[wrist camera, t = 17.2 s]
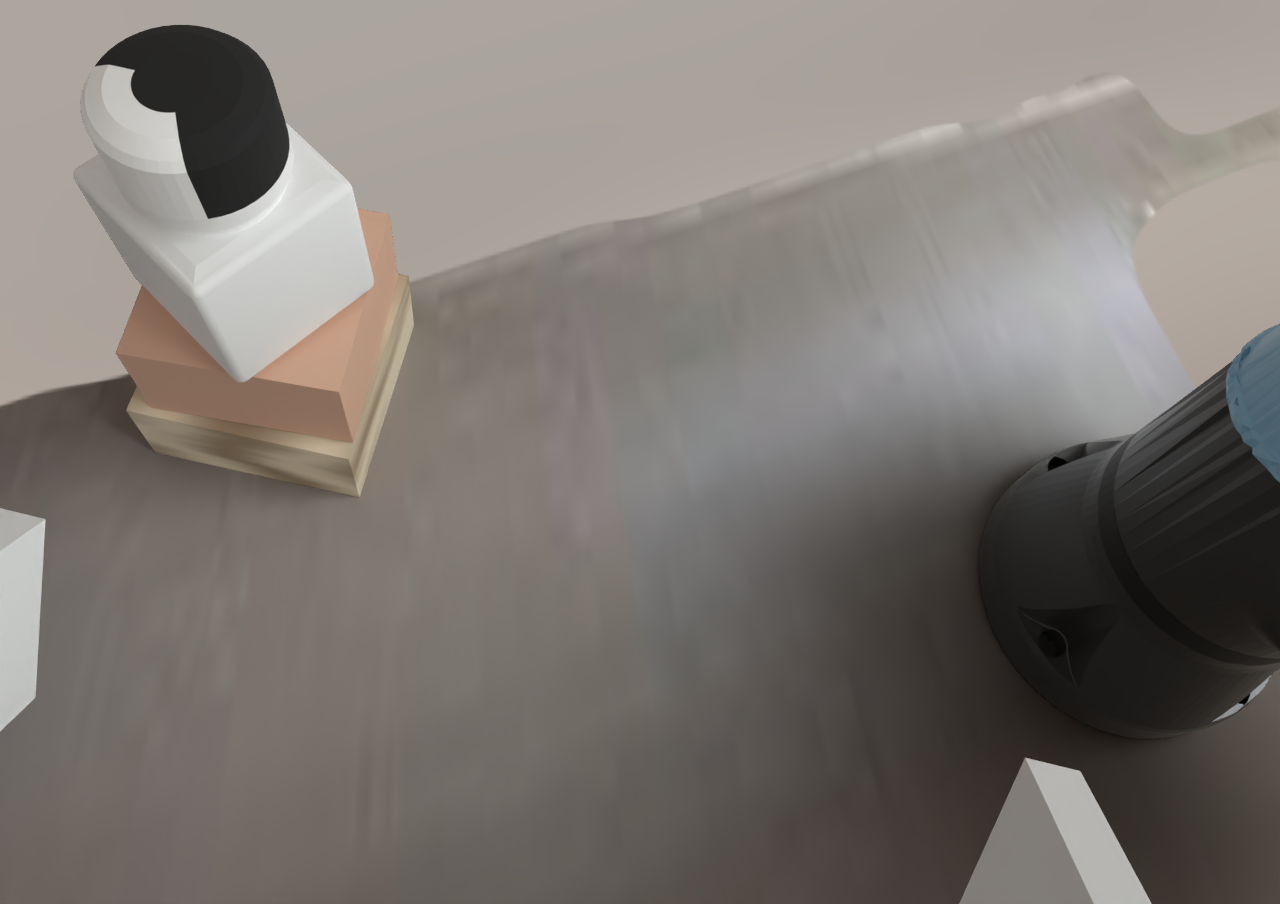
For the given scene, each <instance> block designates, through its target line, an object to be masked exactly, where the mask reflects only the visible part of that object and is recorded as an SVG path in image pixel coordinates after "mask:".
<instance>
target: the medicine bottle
mask: <svg viewBox="0 0 1280 904" xmlns="http://www.w3.org/2000/svg"><path fill="white" fill-rule="evenodd" d="M81 115H82V120H83V123H84V126H85V128H86V131H87V133H88V134H89V136H90V138H91V140H92V141H93V143H94V145H95V147H96V149H97V151H98V152H99V155H97V156H96V157H94V158H92V159H91V160H89V161H87V162H86V163H84V164H83V165H81V166H79V167H78V168H77V169H76V170H75V171H74V178H75V181H76V183H77V184H78V186H79V188H80V189H81V191H82V193H83V194H84V196H85V197H86V199H87V201H88V202H89V204H90V206H91V207H92V209H93V210H94V212H95V214H96V215H97V217H98V219H99V220H100V222H101V223H102V225H103V227H104V228H105V230H106V231H107V233H108V235H109V236H110V238H111V240H112V241H113V243H114V244H115V246H116V248H117V249H118V251H119V252H120V254H121V256H122V257H123V259H124V260H125V262H126V264H127V265H128V267H129V269H130V270H131V272H132V274H133V275H134V277H135V278H136V279H137V280H138V281H139V282H140V283H141V284H142V285H143V286H144V287H145V288H146V289H147V290H148V292H149V293H150V294H151V295H152V296H153V297H154V298H155V299H156V300H157V301H158V302H159V303H160V304H161V305H162V306H163V307H164V308H165V309H166V310H167V311H168V312H169V313H170V314H171V315H172V316H173V317H174V318H175V319H176V320H177V321H178V322H179V323H180V324H181V326H182V327H183V328H184V329H185V330H186V331H187V332H188V333H189V334H190V335H191V336H192V337H193V338H194V339H195V340H196V341H197V342H198V343H199V344H200V345H201V346H202V347H203V348H204V349H205V350H206V351H207V352H208V353H209V354H210V355H211V356H212V357H213V358H214V360H215V361H216V362H217V363H218V364H219V365H220V366H221V367H222V368H223V369H224V370H225V371H226V372H227V373H228V374H229V375H230V376H231V377H232V378H233V379H234V380H236V381H238V382H246V381H248V380H249V379H250V378H252V377H253V376H254V375H256V374H257V373H258V372H260V371H261V370H262V369H264V368H265V367H266V366H268V365H269V364H270V363H272V362H273V361H274V360H276V359H277V358H278V357H280V356H281V355H282V354H284V353H285V352H287V351H288V350H289V349H291V348H292V347H293V346H295V345H296V344H297V343H299V342H300V341H301V340H303V339H304V338H305V337H307V336H308V335H309V334H311V333H312V332H313V331H315V330H316V329H317V328H319V327H320V326H321V325H323V324H324V323H325V322H327V321H328V320H329V319H331V318H332V317H333V316H335V315H336V314H337V313H339V312H340V311H341V310H343V309H344V308H345V307H347V306H348V305H349V304H351V303H352V302H354V301H355V300H356V299H358V298H359V297H360V296H362V295H363V294H364V293H366V292H367V291H368V290H370V289H371V288H372V286H373V284H374V277H373V273H372V269H371V265H370V260H369V256H368V252H367V248H366V243H365V239H364V235H363V231H362V227H361V222H360V218H359V214H358V210H357V205H356V201H355V197H354V193H353V188H352V186H351V184H350V183H349V182H348V180H346V178H344V177H343V176H342V175H341V174H340V173H339V172H338V171H337V170H336V169H335V168H334V167H333V166H332V165H331V164H330V163H328V162H327V161H326V160H325V159H324V158H323V157H322V156H321V155H320V154H319V153H318V152H317V151H316V150H315V149H314V148H312V147H311V146H310V145H309V144H308V143H307V142H306V141H305V140H304V139H303V138H302V137H301V136H300V135H299V134H298V133H296V132H295V131H294V130H293V129H292V128H291V127H290V126H289V125H288V124H287V123H286V122H285V119H284V116H283V113H282V109H281V106H280V103H279V99H278V96H277V93H276V89H275V87H274V83H273V80H272V77H271V74H270V72H269V69H268V68H267V66H266V64H265V63H264V61H263V60H262V59H261V58H260V57H259V55H258V54H257V53H256V52H255V51H254V50H252V49H251V48H250V47H249V46H248V45H246V44H245V43H243V42H242V41H240V40H238V39H236V38H234V37H232V36H230V35H228V34H225V33H222V32H219V31H216V30H213V29H210V28H205V27H200V26H192V25H171V26H162V27H157V28H152V29H149V30H146V31H143V32H139V33H138V34H135V35H133V36H130V37H128V38H126V39H125V40H123V41H121V42H120V43H118V44H117V45H115V46H114V47H113V48H111V49H110V50H109V51H108V52H107V53H106V54H105V55H104V56H103V57H102V58H101V59H100V60H99V61H98V63H97V64H96V65H95V67H94V68H93V69H92V71H91V73H90V74H89V76H88V78H87V80H86V82H85V85H84V87H83V90H82V95H81Z"/></svg>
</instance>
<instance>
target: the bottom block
mask: <svg viewBox="0 0 1280 904" xmlns="http://www.w3.org/2000/svg"><path fill="white" fill-rule="evenodd" d="M413 327H414V321H413V312H412V303H411V294H410V286H409V277H408V276H406V275H402V274H398V279H397V283H396V287H395V290H394V294H393V298H392V301H391V305H390V309H389V312H388V316H387V320H386V323H385V327H384V331H383V334H382V338H381V342H380V346H379V349H378V353H377V357H376V360H375V364H374V368H373V371H372V375H371V379H370V382H369V386H368V390H367V393H366V397H365V401H364V404H363V408H362V412H361V416H360V419H359V423H358V427H357V430H356V434H355V438H354V441H353V442H348V441H342V440H336V439H330V438H324V437H319V436H313V435H307V434H301V433H295V432H290V431H284V430H278V429H272V428H266V427H261V426H255V425H249V424H243V423H237V422H232V421H226V420H220V419H214V418H208V417H203V416H197V415H191V414H185V413H179V412H174V411H168V410H162V409H156V408H151V406H150V405H149V403H148V402H147V400H146V399H145V397H144V396H143V394H142V393H141V391H140V390H139V388H138V387H137V386H136V389H135V391H134V393H133V396H132V398H131V400H130V403H129V405H128V407H127V410H126V411H127V413H128V414H129V416H130V417H131V418H132V420H133V421H134V423H135V424H136V426H137V427H138V428H139V430H140V431H141V433H142V434H143V436H144V437H145V438H146V440H147V441H148V443H149V444H150V446H151V447H152V449H153V450H154V451H155V453H159V454H163V455H168V456H172V457H177V458H182V459H186V460H191V461H195V462H200V463H204V464H209V465H214V466H218V467H223V468H227V469H232V470H237V471H241V472H246V473H250V474H255V475H259V476H264V477H269V478H273V479H278V480H282V481H287V482H292V483H296V484H301V485H305V486H310V487H314V488H319V489H324V490H328V491H333V492H337V493H342V494H347V495H351V496H356V497H360V495H361V491H362V488H363V485H364V482H365V479H366V476H367V472H368V469H369V466H370V463H371V460H372V457H373V453H374V450H375V447H376V444H377V441H378V438H379V434H380V431H381V428H382V425H383V422H384V419H385V415H386V412H387V409H388V406H389V403H390V400H391V396H392V393H393V390H394V387H395V384H396V381H397V377H398V374H399V371H400V368H401V365H402V362H403V358H404V355H405V352H406V349H407V346H408V343H409V339H410V336H411V333H412V330H413Z"/></svg>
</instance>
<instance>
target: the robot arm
mask: <svg viewBox="0 0 1280 904" xmlns="http://www.w3.org/2000/svg"><path fill="white" fill-rule="evenodd" d="M44 535H45V519H42V518H38V517H34V516H30V515H26V514H22V513H18V512H14V511H10V510H5V509H1V508H0V731H1V730H2V729H3V728H4V727H5V726H6V725H7V724H8V723H10V722H11V721H12V720H13V719H14V718H15V717H16V716H17V715H18V714H19V713H20V712H21V711H22V710H23V709H24V708H25V707H26V706H27V705H28V704H29V703H30V702H31V701H32V700H33V699H34V698H35V696H36V678H37V660H38V642H39V624H40V607H41V589H42V571H43V553H44ZM979 578H980V587H981V593H982V598H983V602H984V606H985V609H986V612H987V615H988V618H989V621H990V623H991V626H992V628H993V631H994V633H995V635H996V637H997V639H998V641H999V643H1000V644H1001V646H1002V648H1003V650H1004V651H1005V653H1006V654H1007V656H1008V657H1009V659H1010V660H1011V662H1012V663H1013V664H1014V666H1015V667H1016V668H1017V670H1018V671H1019V672H1020V673H1021V675H1022V676H1023V677H1024V678H1025V679H1026V680H1027V681H1028V682H1029V683H1030V685H1031V686H1032V687H1033V688H1034V689H1035V690H1037V691H1038V692H1039V693H1040V694H1041V695H1042V696H1043V697H1044V698H1046V699H1047V700H1048V701H1049V702H1050V703H1052V704H1053V705H1054V706H1056V707H1057V708H1059V709H1060V710H1061V711H1063V712H1065V713H1066V714H1068V715H1069V716H1071V717H1073V718H1075V719H1077V720H1078V721H1080V722H1082V723H1084V724H1087V725H1089V726H1091V727H1093V728H1096V729H1099V730H1102V731H1104V732H1108V733H1111V734H1115V735H1119V736H1124V737H1131V738H1140V739H1159V738H1167V737H1173V736H1177V735H1181V734H1185V733H1189V732H1192V731H1196V730H1200V729H1203V728H1206V727H1210V726H1212V725H1215V724H1217V723H1220V722H1222V721H1223V720H1225V719H1227V718H1229V717H1231V716H1233V715H1234V714H1236V713H1237V712H1239V711H1240V710H1242V709H1243V708H1244V707H1245V706H1247V705H1248V704H1249V703H1250V702H1251V701H1252V700H1253V699H1254V698H1255V697H1256V696H1257V695H1258V694H1259V693H1260V691H1261V690H1262V689H1263V688H1264V687H1265V685H1266V684H1267V682H1268V681H1269V679H1270V678H1271V676H1272V674H1273V673H1274V672H1275V671H1276V670H1279V669H1280V324H1278V325H1275V326H1273V327H1271V328H1269V329H1267V330H1265V331H1263V332H1262V333H1260V334H1258V335H1257V336H1256V337H1254V338H1253V339H1252V340H1251V341H1249V342H1248V343H1247V344H1246V345H1245V346H1244V347H1243V348H1242V351H1241V352H1240V353H1239V354H1238V355H1237V356H1236V358H1234V360H1233V361H1232V362H1231V363H1229V364H1228V365H1227V366H1225V367H1224V368H1223V369H1221V370H1220V371H1219V372H1218V373H1216V374H1215V375H1213V376H1212V377H1211V378H1210V379H1208V380H1207V381H1205V382H1204V383H1203V384H1201V385H1200V386H1199V387H1197V388H1196V389H1195V390H1194V391H1192V392H1191V393H1190V394H1188V395H1187V396H1186V397H1184V398H1183V399H1182V400H1180V401H1179V402H1177V403H1176V404H1175V405H1173V406H1172V407H1171V408H1169V409H1168V410H1166V411H1165V412H1164V413H1162V414H1161V415H1159V416H1158V417H1157V418H1155V419H1154V420H1153V421H1151V422H1150V423H1148V424H1147V425H1146V426H1145V427H1144V428H1142V429H1141V430H1139V431H1138V432H1137V433H1135V434H1131V435H1126V436H1120V437H1115V438H1110V439H1104V440H1099V441H1094V442H1089V443H1084V444H1080V445H1075V446H1072V447H1069V448H1066V449H1063V450H1061V451H1059V452H1056V453H1054V454H1052V455H1050V456H1049V457H1047V458H1045V459H1043V460H1042V461H1040V462H1039V463H1037V464H1036V465H1035V466H1033V467H1032V468H1031V469H1030V470H1028V471H1027V472H1026V473H1025V474H1023V475H1022V476H1021V477H1020V478H1019V479H1017V480H1016V481H1015V482H1014V483H1013V484H1012V485H1011V486H1010V487H1009V488H1008V489H1007V490H1006V491H1005V492H1004V493H1003V494H1002V496H1001V497H1000V498H999V500H998V501H997V503H996V504H995V506H994V508H993V509H992V511H991V513H990V515H989V518H988V520H987V523H986V525H985V528H984V532H983V535H982V540H981V545H980V553H979ZM959 904H1152V903H1151V902H1150V900H1149V898H1148V896H1147V894H1146V892H1145V890H1144V889H1143V887H1142V885H1141V883H1140V881H1139V879H1138V877H1137V876H1136V874H1135V872H1134V870H1133V868H1132V866H1131V864H1130V863H1129V861H1128V859H1127V857H1126V855H1125V853H1124V851H1123V850H1122V848H1121V846H1120V844H1119V842H1118V840H1117V838H1116V837H1115V835H1114V833H1113V831H1112V829H1111V827H1110V825H1109V824H1108V822H1107V820H1106V818H1105V816H1104V814H1103V812H1102V811H1101V809H1100V807H1099V805H1098V803H1097V801H1096V799H1095V798H1094V796H1093V794H1092V792H1091V790H1090V788H1089V786H1088V785H1087V783H1086V781H1085V779H1084V777H1083V775H1082V773H1081V772H1080V771H1078V770H1074V769H1070V768H1066V767H1062V766H1058V765H1053V764H1049V763H1045V762H1041V761H1037V760H1033V759H1029V758H1025V759H1024V761H1023V763H1022V766H1021V768H1020V770H1019V772H1018V775H1017V777H1016V779H1015V781H1014V783H1013V786H1012V788H1011V790H1010V792H1009V794H1008V797H1007V799H1006V801H1005V803H1004V806H1003V808H1002V810H1001V812H1000V814H999V817H998V819H997V821H996V823H995V825H994V828H993V830H992V832H991V834H990V837H989V839H988V841H987V843H986V845H985V848H984V850H983V852H982V854H981V856H980V859H979V861H978V863H977V865H976V868H975V870H974V872H973V874H972V876H971V879H970V881H969V883H968V885H967V888H966V890H965V892H964V894H963V896H962V899H961V901H960V903H959Z"/></svg>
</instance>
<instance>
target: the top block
mask: <svg viewBox="0 0 1280 904" xmlns="http://www.w3.org/2000/svg"><path fill="white" fill-rule="evenodd" d="M357 210H358V214H359V218H360V222H361V227H362V231H363V235H364V239H365V243H366V248H367V252H368V256H369V260H370V265H371V269H372V273H373V277H374V284H373V286H372V288H371V289H370V290H368V291H367V292H366V293H364V294H363V295H362V296H360V297H359V298H358V299H356V300H355V301H354V302H352V303H351V304H349V305H348V306H347V307H345V308H344V309H343V310H341V311H340V312H339V313H337V314H336V315H335V316H333V317H332V318H331V319H329V320H328V321H327V322H325V323H324V324H323V325H321V326H320V327H319V328H317V329H316V330H315V331H313V332H312V333H311V334H309V335H308V336H307V337H305V338H304V339H303V340H301V341H300V342H299V343H297V344H296V345H295V346H293V347H292V348H291V349H289V350H288V351H287V352H285V353H284V354H282V355H281V356H280V357H278V358H277V359H276V360H274V361H273V362H272V363H270V364H269V365H268V366H266V367H265V368H264V369H262V370H261V371H260V372H258V373H257V374H256V375H254V376H253V377H252V378H250V379H249V380H248V381H246V382H238V381H236V380H234V379H233V378H232V377H231V376H230V375H229V374H228V373H227V372H226V371H225V370H224V369H223V368H222V367H221V366H220V365H219V364H218V363H217V362H216V361H215V360H214V358H213V357H212V356H211V355H210V354H209V353H208V352H207V351H206V350H205V349H204V348H203V347H202V346H201V345H200V344H199V343H198V342H197V341H196V340H195V339H194V338H193V337H192V336H191V335H190V334H189V333H188V332H187V331H186V330H185V329H184V328H183V327H182V326H181V324H180V323H179V322H178V321H177V320H176V319H175V318H174V317H173V316H172V315H171V314H170V313H169V312H168V311H167V310H166V309H165V308H164V307H163V306H162V305H161V304H160V303H159V302H158V301H157V300H156V299H155V298H154V297H153V296H152V295H151V294H150V293H149V292H148V290H147V289H146V288H145V287H144V286H143V285H142V287H141V290H140V292H139V295H138V297H137V300H136V302H135V305H134V307H133V310H132V313H131V315H130V318H129V321H128V323H127V325H126V328H125V331H124V333H123V336H122V338H121V341H120V343H119V346H118V349H117V351H116V354H117V355H118V357H119V359H120V360H121V362H122V363H123V365H124V366H125V368H126V369H127V371H128V373H129V374H130V376H131V377H132V379H133V380H134V382H135V383H136V385H137V387H138V388H139V390H140V391H141V393H142V394H143V396H144V397H145V399H146V400H147V402H148V403H149V405H150V406H151V408H156V409H162V410H168V411H174V412H179V413H185V414H191V415H197V416H203V417H208V418H214V419H220V420H226V421H232V422H237V423H243V424H249V425H255V426H261V427H266V428H272V429H278V430H284V431H290V432H295V433H301V434H307V435H313V436H319V437H324V438H330V439H336V440H342V441H348V442H353V441H354V438H355V434H356V430H357V427H358V423H359V419H360V416H361V412H362V408H363V404H364V401H365V397H366V393H367V390H368V386H369V382H370V379H371V375H372V371H373V368H374V364H375V360H376V357H377V353H378V349H379V346H380V342H381V338H382V334H383V331H384V327H385V323H386V320H387V316H388V312H389V309H390V305H391V301H392V298H393V294H394V290H395V287H396V283H397V279H398V272H397V264H396V257H395V251H394V243H393V236H392V229H391V222H390V216H389V214H384V213H379V212H374V211H368V210H363V209H358V208H357Z"/></svg>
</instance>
